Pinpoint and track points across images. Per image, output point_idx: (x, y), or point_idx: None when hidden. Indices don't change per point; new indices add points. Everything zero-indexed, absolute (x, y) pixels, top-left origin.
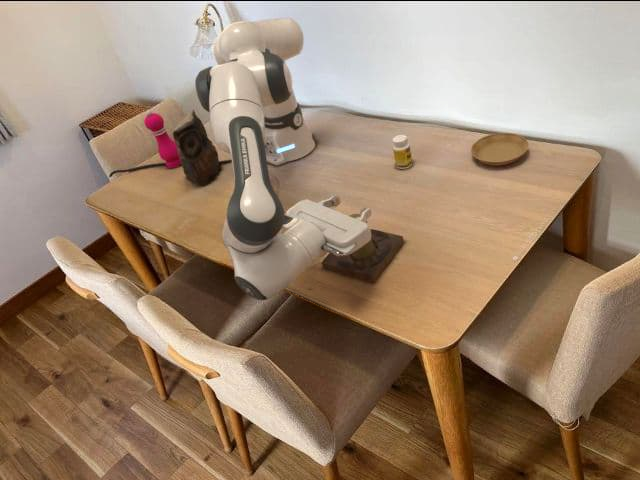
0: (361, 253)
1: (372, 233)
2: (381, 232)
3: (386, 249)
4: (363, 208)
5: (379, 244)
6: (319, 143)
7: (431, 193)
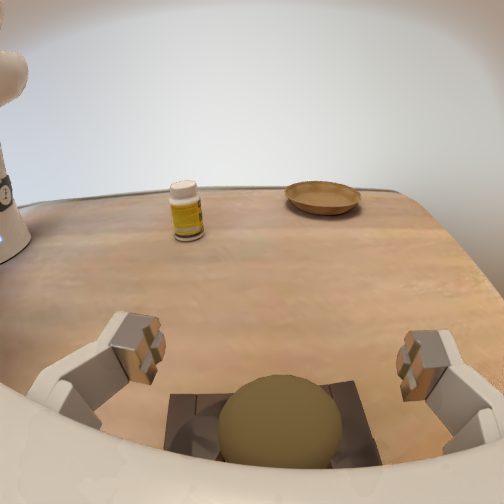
0: None
1: None
2: None
3: (354, 442)
4: (419, 341)
5: None
6: (36, 235)
7: (286, 267)
